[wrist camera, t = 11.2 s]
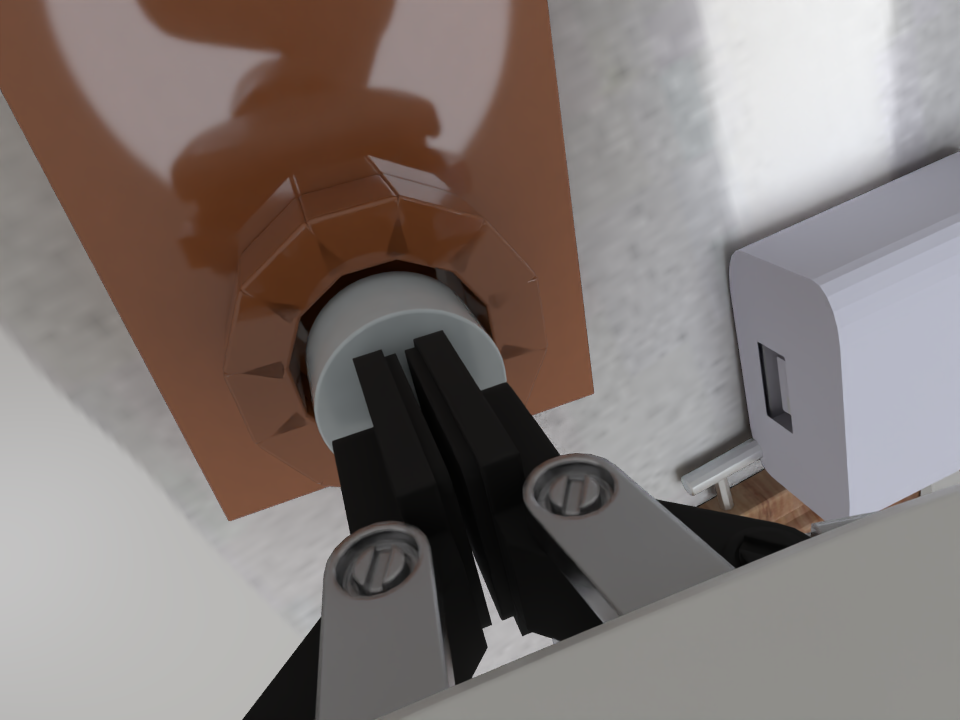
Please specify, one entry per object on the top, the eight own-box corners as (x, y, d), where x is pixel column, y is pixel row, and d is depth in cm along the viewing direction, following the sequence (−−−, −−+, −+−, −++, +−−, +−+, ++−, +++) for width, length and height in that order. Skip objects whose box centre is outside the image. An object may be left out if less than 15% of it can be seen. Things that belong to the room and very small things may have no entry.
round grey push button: (279, 301, 13) (285, 347, 11) (457, 248, 13) (489, 283, 12) (335, 447, 14) (347, 506, 13) (489, 394, 15) (521, 444, 13)
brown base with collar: (-4, -23, 13) (-126, -39, 9) (480, -120, 14) (577, -172, 10) (230, 454, 19) (226, 581, 15) (552, 346, 21) (631, 433, 16)
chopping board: (546, 540, 24) (582, 603, 22) (1140, 209, 26) (1239, 231, 24) (740, 921, 48) (768, 972, 46) (1043, 735, 50) (1087, 774, 48)
